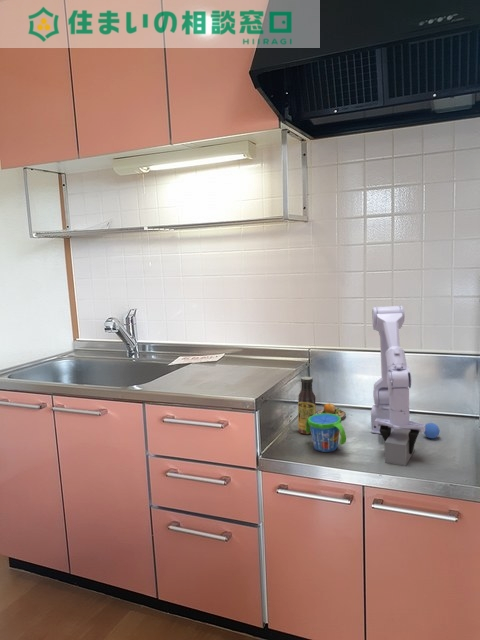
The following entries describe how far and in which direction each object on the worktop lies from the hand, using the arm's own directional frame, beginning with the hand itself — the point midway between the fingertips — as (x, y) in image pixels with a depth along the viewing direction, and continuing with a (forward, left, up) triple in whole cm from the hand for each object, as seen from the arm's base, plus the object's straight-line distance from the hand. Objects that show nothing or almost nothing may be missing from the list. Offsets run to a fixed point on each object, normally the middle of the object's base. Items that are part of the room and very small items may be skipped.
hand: (400, 451), depth 151 cm
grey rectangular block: (0, 0, -2) cm, 2 cm away
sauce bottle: (-34, +8, -2) cm, 35 cm away
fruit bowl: (-32, +25, -2) cm, 41 cm away
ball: (+6, +18, +1) cm, 19 cm away
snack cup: (-23, -3, -2) cm, 23 cm away
